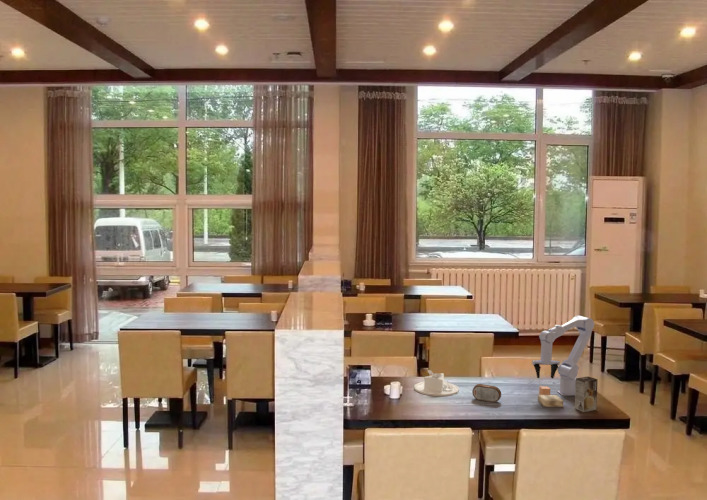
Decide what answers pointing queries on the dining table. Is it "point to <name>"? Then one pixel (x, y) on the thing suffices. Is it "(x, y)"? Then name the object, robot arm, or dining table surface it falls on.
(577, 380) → the coffee box
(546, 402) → the riser
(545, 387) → the block
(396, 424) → the dining table surface
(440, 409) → the dining table surface
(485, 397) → the tin
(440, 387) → the dish
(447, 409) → the dining table surface
